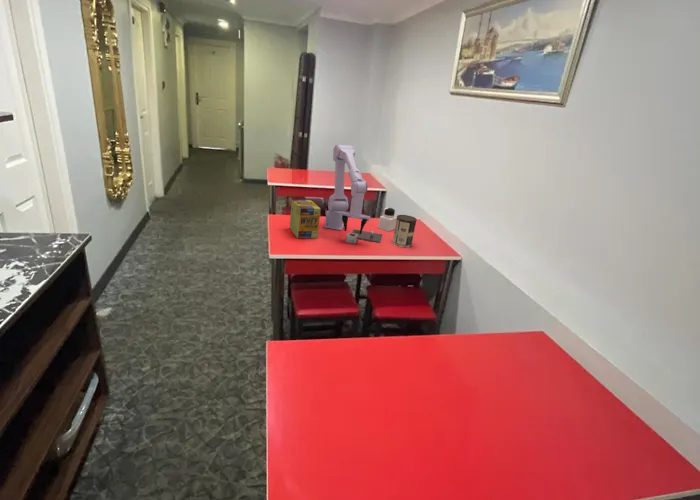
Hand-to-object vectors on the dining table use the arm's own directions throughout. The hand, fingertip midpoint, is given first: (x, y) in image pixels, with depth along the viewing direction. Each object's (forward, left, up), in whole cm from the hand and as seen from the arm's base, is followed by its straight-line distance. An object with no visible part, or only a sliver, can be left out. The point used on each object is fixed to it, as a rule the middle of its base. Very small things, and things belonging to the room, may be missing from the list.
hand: (352, 231), depth 191 cm
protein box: (-25, -1, -5) cm, 26 cm away
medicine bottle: (+15, +31, -5) cm, 35 cm away
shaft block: (+6, +11, -5) cm, 14 cm away
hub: (0, 0, -5) cm, 5 cm away
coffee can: (+25, +11, -5) cm, 28 cm away
